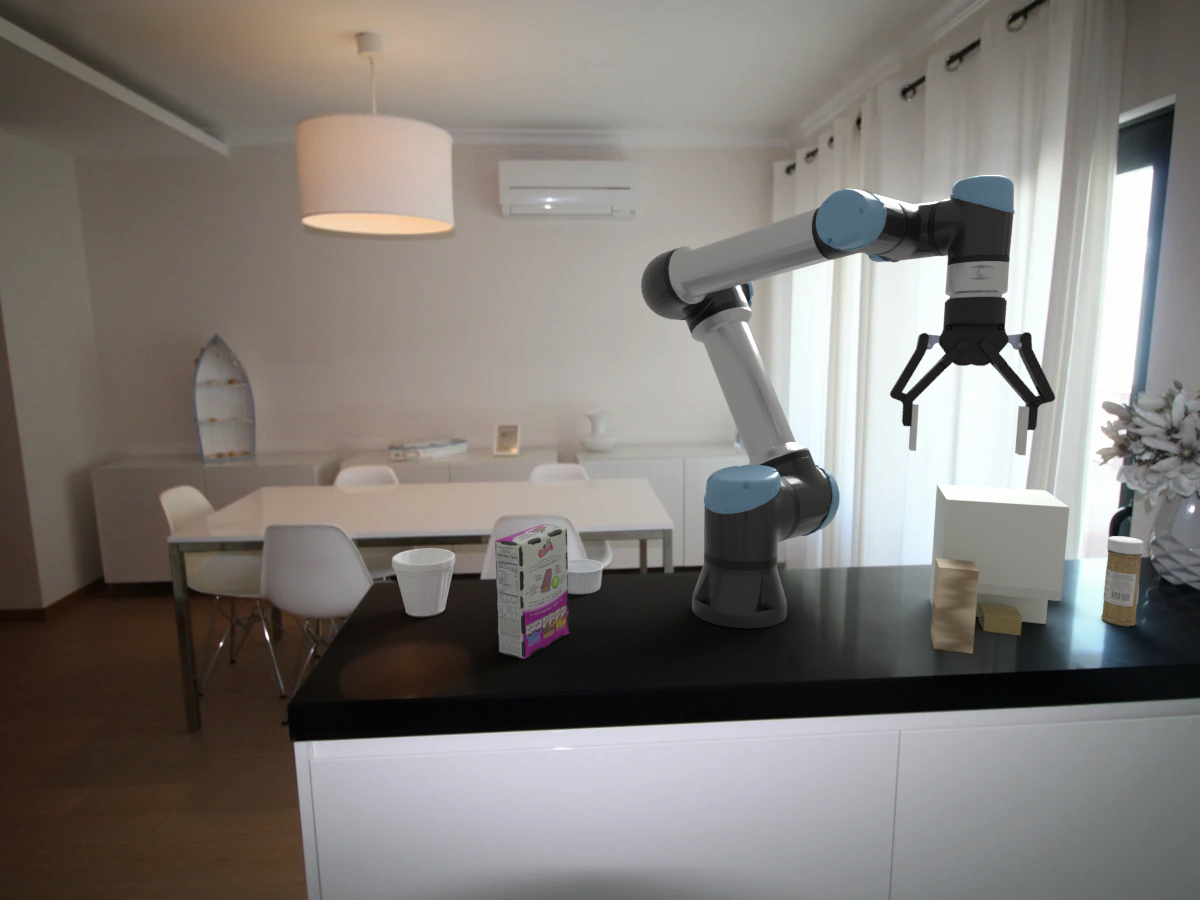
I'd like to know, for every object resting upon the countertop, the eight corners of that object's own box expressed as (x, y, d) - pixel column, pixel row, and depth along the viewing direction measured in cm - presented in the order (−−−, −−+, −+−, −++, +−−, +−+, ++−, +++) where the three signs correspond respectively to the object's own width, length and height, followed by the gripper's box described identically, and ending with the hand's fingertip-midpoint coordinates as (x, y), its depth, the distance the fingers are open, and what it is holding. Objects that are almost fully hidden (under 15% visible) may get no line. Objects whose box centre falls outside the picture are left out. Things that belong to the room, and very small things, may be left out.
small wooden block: (983, 632, 110) (984, 613, 110) (978, 621, 115) (979, 602, 115) (1020, 636, 109) (1022, 617, 108) (1013, 625, 113) (1015, 606, 113)
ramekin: (574, 577, 136) (574, 555, 136) (613, 586, 131) (613, 563, 131) (543, 589, 129) (543, 566, 129) (583, 599, 124) (583, 575, 124)
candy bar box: (542, 627, 111) (542, 523, 109) (570, 634, 108) (569, 527, 106) (495, 652, 101) (493, 538, 99) (523, 661, 99) (522, 543, 97)
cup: (381, 612, 117) (379, 556, 116) (433, 597, 125) (432, 544, 123) (416, 627, 111) (414, 569, 109) (469, 611, 118) (468, 555, 117)
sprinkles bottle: (1140, 623, 114) (1149, 539, 112) (1128, 629, 111) (1136, 543, 109) (1107, 614, 117) (1115, 533, 116) (1094, 620, 115) (1102, 537, 113)
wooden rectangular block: (933, 648, 103) (939, 567, 102) (924, 613, 118) (928, 541, 116) (972, 653, 102) (978, 570, 100) (958, 616, 116) (963, 543, 115)
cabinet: (938, 626, 112) (946, 499, 109) (929, 598, 125) (936, 484, 122) (1057, 640, 107) (1069, 507, 104) (1035, 609, 120) (1045, 490, 117)
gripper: (878, 297, 99) (870, 450, 102) (1090, 292, 91) (1076, 459, 94) (876, 301, 106) (869, 444, 109) (1073, 296, 98) (1060, 452, 101)
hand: (965, 452), depth 101 cm, fingers open, 13 cm apart
